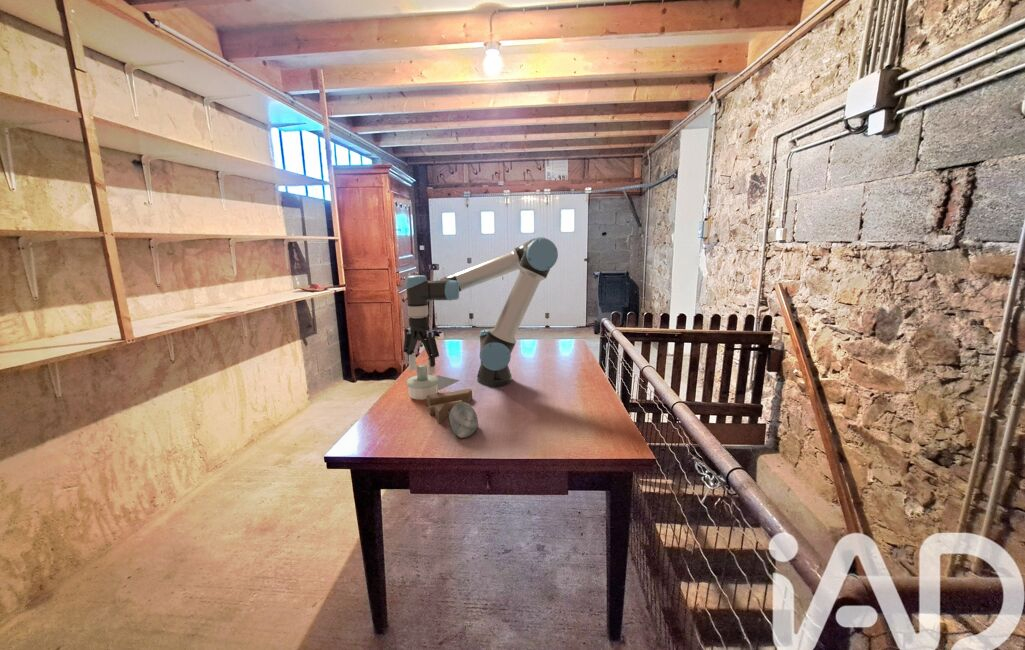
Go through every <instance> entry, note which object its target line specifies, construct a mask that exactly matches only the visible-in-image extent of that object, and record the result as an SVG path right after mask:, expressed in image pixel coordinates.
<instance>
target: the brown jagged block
mask: <svg viewBox="0 0 1025 650" xmlns="http://www.w3.org/2000/svg"><path fill="white" fill-rule="evenodd" d="M472 400H473V390H472V389H471V388H466V389H465V388H464V389H460V390H454V391H444V392H438V393H437V394H432V395H427V399H426V406H427V408H428V413H429V415H430V416H434V418H435V420H436V422H437V423H438V424H439V425H440V424H441V423H442V422H444V420H445V419H446V418H447V417H449V414H450V410H451V409H452V408H453V406H455V405H456V404H458V403H460V402H465V403H468V404H469V403H470V402H471V401H472Z"/></svg>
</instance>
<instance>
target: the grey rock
mask: <svg viewBox="0 0 1025 650" xmlns="http://www.w3.org/2000/svg"><path fill="white" fill-rule="evenodd" d="M448 414H449V415H448V418H449V424H450V428H451V429H452V432H453V433H454V434H455V435H456V437H458V438H462V439H464V438H465V439H466V438H468V437H470V436H472V434H474V432H475V431H476V430H477V429H478V425H479V419H478V414H477V412H476V411H475V409H474V408H473V406H472V405H471V404H470V403H469V402H468V403H465V402H460V403H458V404H456V405H455V406H453V408H452V409H451V410H450V411H449V413H448Z"/></svg>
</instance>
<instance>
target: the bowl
mask: <svg viewBox="0 0 1025 650" xmlns="http://www.w3.org/2000/svg"><path fill="white" fill-rule="evenodd" d="M407 391H408V396H409V398H411V399H412V400H413V399H414V400H427V395H432V394H438V393H439V390H438V384H436V385H435V386H432V387H429V388H422V389H415V388H410V387H408V386H407Z"/></svg>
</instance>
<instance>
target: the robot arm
mask: <svg viewBox="0 0 1025 650" xmlns="http://www.w3.org/2000/svg"><path fill="white" fill-rule="evenodd" d="M558 254H559V251H558V248H557V246H556V243H554V242H553V241H552V240H550V239H549V238H546V237H536V238H532V239H530V240H528V241H527V242H525V243H523V244H521V245H519V246H517V247H514V248H513V249H512V251H511V252H508V253H506V254H503V255H500V256H498V257H497V256H496V257H495V258H493V259H490V260H487V261H484V262H481V263H479V264H477V265H474V266H470V267H469V268H466V269H464V270H461V271H458V272H456V273H453V274H451V275H448V276H444V277H442V278H440V279H439V280H428V279H427V276H426V275H424V274H423V275H417V274H416V275H409V276H406V288H405V289H406V290H405V291H406V298H407V299H406V301H407V315H408V327H409V328H405V329H404V343H403V350H402V351H403V353H406V354H407V360H408V361H407V362H408V366H409V367H408V368H409V371H410V372H412V371H415V370H417V364H416V363H417V362H416V353H415V349H416V346H417V344H418V341H420V342H421V344H422V345H423V346H424V350H425V352H426V354H427V360H426V361H427V375H434V374H436V372H435V370H436V369H435V366H436V358H438V357H440V353H439V349H438V346H437V341H436V332H435V331H434V330H433V331H429V329H428V328H429V325H430V320H429V318H430V317H429V316H428V315H429V302H431V301H451V302H452V301H455V300H459V298H460V292H462V291H465V290H467V289H470V288H473V287H475V286H478V285H480V284H483V283H486V282H489V281H492V280H494V279H496V278H499V277H501V276H504V275H507V274H510V273H512V272H515V271H518V270H519V273H518V275H517V278H516V280H515V281H514V283H513V286H512V288H511V289H510V290H511V291H510V292H509V295H508V297H507V299H506V302H505V304H504V306H503V308H502V310H501V312H500V315H499V317H498V319H497V321H496V323H495V326H494V327H493V328H487V329H486V328H485V329H481V330H480V331H479V337H478V338H479V359H480V365H479V368H478V371H477V375H476V382H477V383H478V384H480V385H483V386H486V387H502V386H505V385H509V384H510V383H511V382H512V378H513V377H512V373H511V369H510V368H509V363H510V361H511V358H512V352H513V351H514V348H515V347H516V346H515V345H516V343H517V341H516V334H517V332H518V330H519V328H520V326H521V324H522V321H523V319H524V316H525V315H526V313H527V310H528V308H529V306H530V304H531V302H532V300H533V297H534V296H535V293H536V291H537V289H538V287H539V284H540V283H541V281H544V280H546V279H547V277H548V275H549V273H550V270H551V269H552V268H553V267H554V266H555V265H556V263H557V261H558V256H559V255H558Z"/></svg>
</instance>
